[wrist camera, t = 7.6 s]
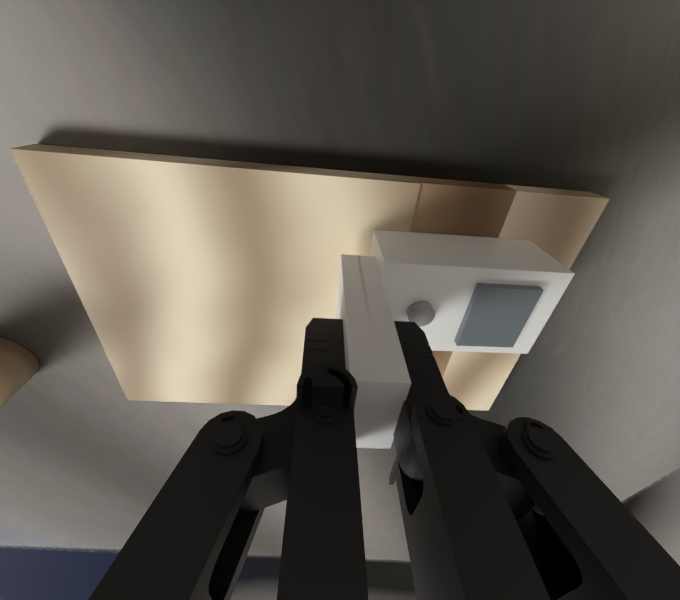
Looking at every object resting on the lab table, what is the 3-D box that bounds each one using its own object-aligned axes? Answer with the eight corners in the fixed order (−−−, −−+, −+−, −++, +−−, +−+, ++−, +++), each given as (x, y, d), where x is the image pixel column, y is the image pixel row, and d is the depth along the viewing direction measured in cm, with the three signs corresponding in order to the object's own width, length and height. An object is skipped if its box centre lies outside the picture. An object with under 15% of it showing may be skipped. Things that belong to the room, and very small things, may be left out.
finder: (361, 306, 15) (369, 353, 12) (373, 229, 13) (386, 266, 10) (495, 312, 16) (531, 358, 13) (529, 240, 14) (580, 277, 11)
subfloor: (137, 384, 20) (127, 400, 19) (36, 143, 12) (10, 148, 11) (481, 397, 21) (489, 411, 20) (591, 191, 14) (611, 199, 13)
